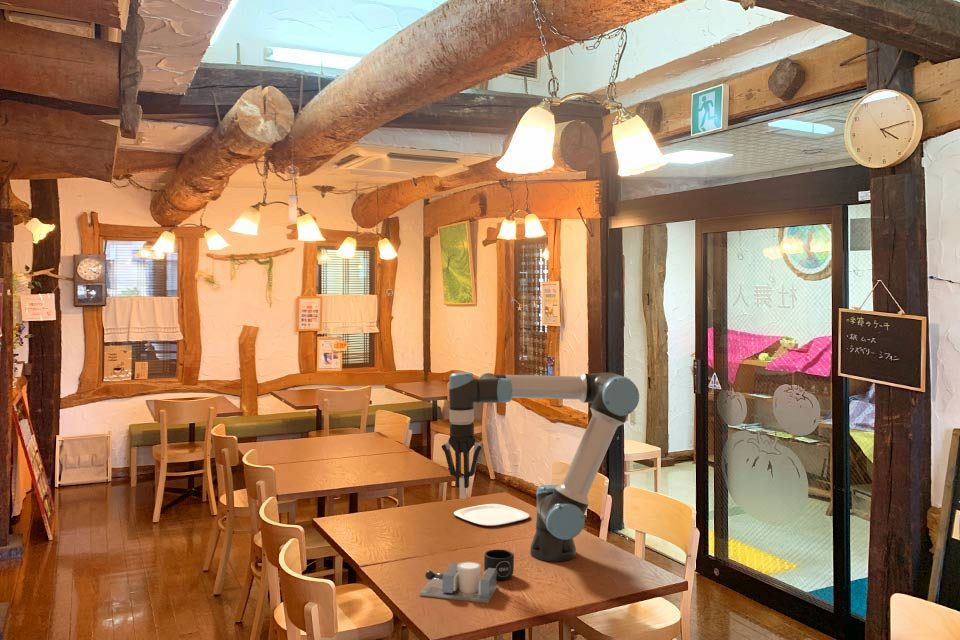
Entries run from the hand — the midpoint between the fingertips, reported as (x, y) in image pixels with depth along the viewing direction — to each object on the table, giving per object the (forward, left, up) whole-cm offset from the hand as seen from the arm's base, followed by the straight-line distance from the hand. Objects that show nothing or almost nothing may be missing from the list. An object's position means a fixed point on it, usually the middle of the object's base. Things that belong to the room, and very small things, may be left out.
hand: (462, 497), depth 243 cm
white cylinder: (-7, +17, -22) cm, 29 cm away
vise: (-4, +17, -23) cm, 29 cm away
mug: (-12, +1, -23) cm, 26 cm away
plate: (+3, -60, -23) cm, 64 cm away
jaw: (+1, +17, -21) cm, 28 cm away
